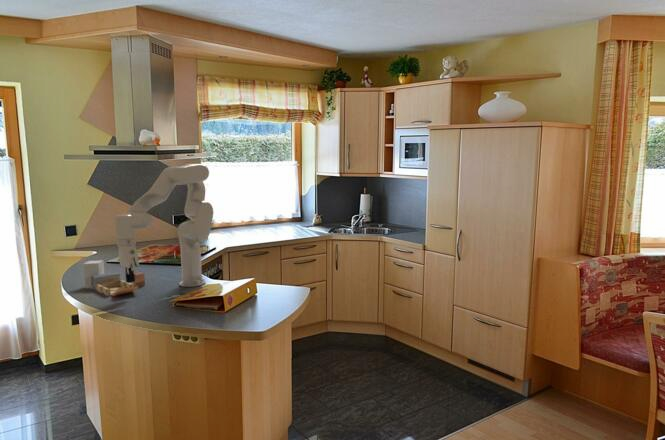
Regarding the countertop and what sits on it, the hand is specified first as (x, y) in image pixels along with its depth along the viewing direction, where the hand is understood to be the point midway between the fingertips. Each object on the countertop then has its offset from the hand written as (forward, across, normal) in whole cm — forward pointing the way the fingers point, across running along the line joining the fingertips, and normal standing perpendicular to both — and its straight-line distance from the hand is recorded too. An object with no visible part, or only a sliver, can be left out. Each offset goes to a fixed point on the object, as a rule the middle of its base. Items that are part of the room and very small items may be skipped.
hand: (130, 281), depth 226 cm
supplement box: (+8, +36, +2) cm, 37 cm away
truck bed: (+8, +19, +1) cm, 21 cm away
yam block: (+8, +17, -11) cm, 22 cm away
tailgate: (+7, +8, +1) cm, 11 cm away
